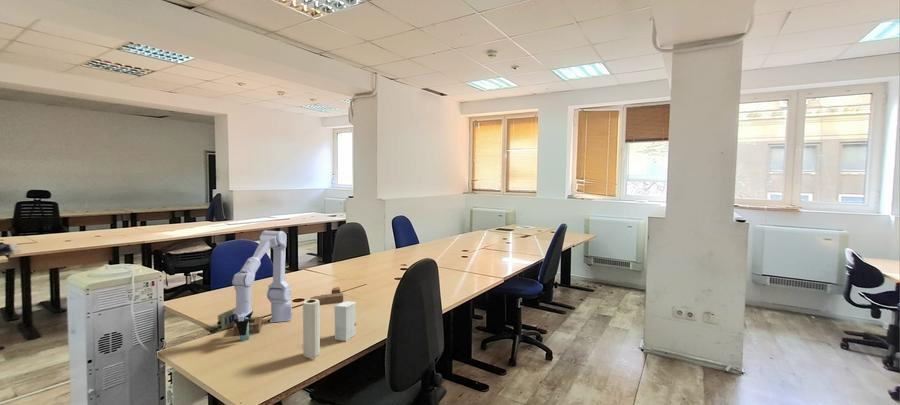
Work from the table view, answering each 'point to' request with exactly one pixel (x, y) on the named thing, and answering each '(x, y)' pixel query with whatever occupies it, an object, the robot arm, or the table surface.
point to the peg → (245, 337)
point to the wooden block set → (330, 297)
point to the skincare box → (345, 320)
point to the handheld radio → (225, 320)
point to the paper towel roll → (311, 328)
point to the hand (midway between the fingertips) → (244, 331)
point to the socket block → (251, 326)
